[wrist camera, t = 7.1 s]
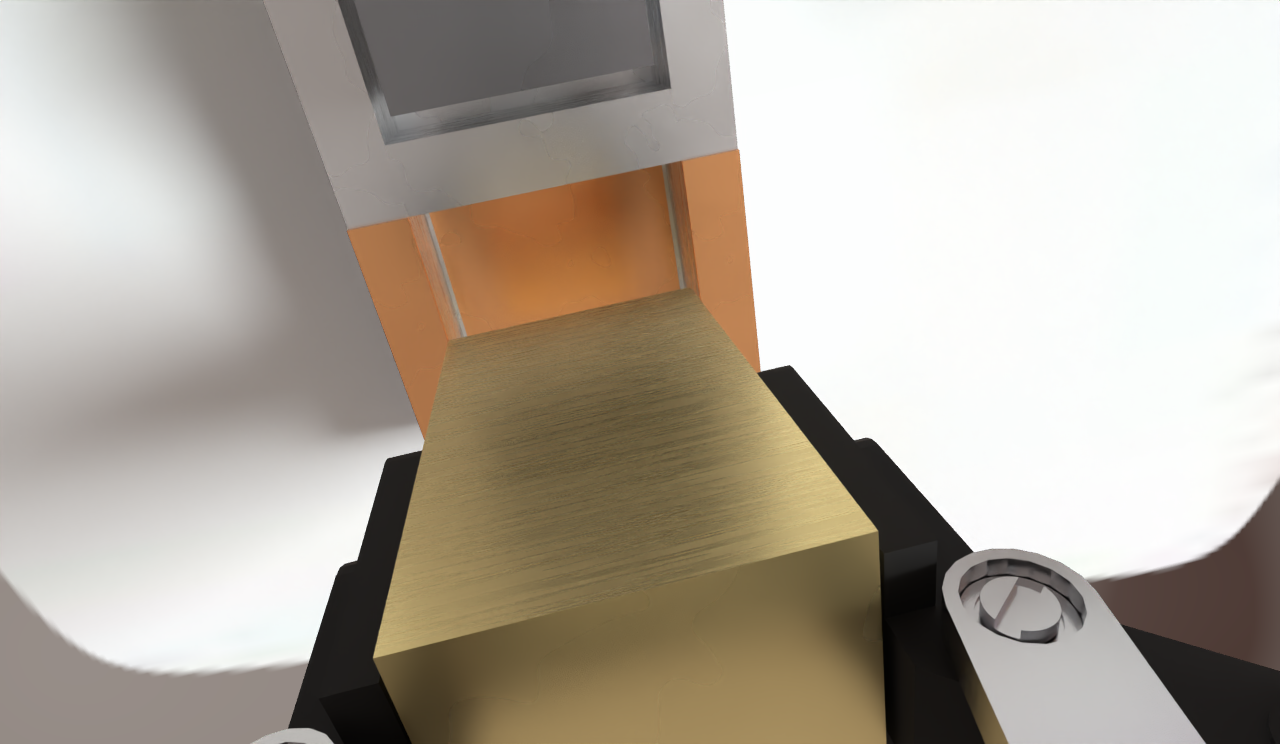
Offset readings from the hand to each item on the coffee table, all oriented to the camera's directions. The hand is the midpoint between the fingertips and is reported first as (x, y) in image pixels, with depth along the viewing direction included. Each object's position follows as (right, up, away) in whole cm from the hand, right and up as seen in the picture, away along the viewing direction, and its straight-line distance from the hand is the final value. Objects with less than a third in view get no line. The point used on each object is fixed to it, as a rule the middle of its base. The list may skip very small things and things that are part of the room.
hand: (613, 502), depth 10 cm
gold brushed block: (0, +1, +3) cm, 3 cm away
